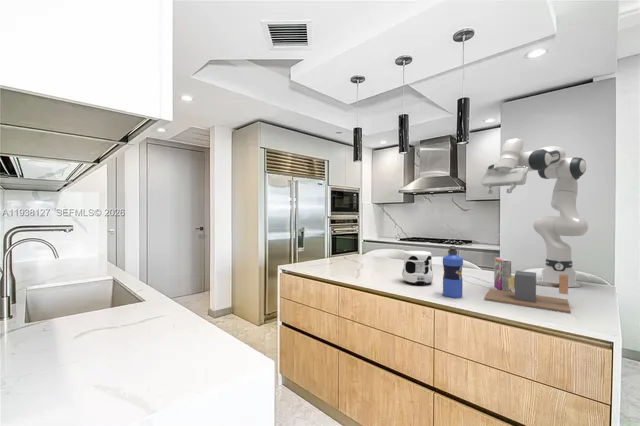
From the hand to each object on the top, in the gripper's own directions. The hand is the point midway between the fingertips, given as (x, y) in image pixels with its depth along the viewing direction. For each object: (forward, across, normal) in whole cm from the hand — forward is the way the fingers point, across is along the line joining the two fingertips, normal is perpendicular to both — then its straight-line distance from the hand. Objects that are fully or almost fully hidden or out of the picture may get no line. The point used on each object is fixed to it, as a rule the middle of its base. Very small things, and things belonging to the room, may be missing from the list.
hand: (498, 193), depth 147 cm
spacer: (+39, -4, -24) cm, 46 cm away
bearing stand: (+43, -9, -29) cm, 53 cm away
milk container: (+52, +41, -12) cm, 67 cm away
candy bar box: (+39, +8, -38) cm, 55 cm away
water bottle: (+53, +13, -8) cm, 55 cm away
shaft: (+37, -12, -27) cm, 47 cm away
